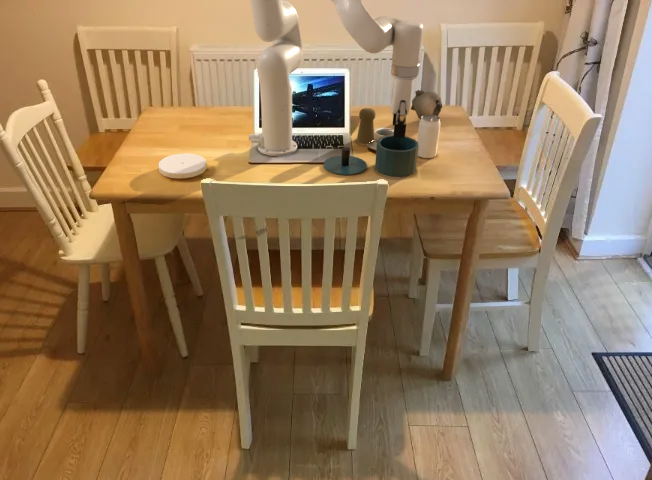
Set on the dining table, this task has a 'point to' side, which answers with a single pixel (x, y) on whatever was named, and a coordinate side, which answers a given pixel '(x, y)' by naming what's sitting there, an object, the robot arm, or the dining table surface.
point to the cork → (366, 126)
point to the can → (428, 136)
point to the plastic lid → (182, 165)
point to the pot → (396, 156)
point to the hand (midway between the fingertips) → (398, 130)
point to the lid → (345, 164)
